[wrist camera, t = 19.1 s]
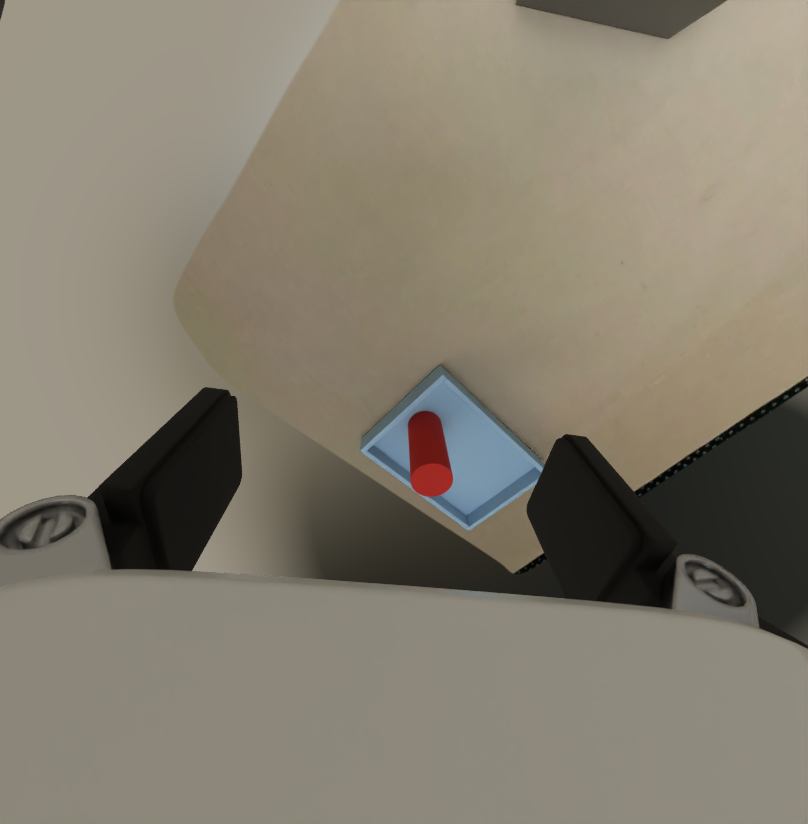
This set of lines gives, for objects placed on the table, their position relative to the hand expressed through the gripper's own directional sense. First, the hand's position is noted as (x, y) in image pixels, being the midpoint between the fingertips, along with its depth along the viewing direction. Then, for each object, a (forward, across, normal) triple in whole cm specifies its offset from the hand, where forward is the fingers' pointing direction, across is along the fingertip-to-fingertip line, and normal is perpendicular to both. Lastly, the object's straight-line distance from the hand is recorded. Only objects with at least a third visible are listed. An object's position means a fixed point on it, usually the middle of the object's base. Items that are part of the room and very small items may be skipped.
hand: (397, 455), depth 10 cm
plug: (+27, -6, +15) cm, 32 cm away
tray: (+28, -10, +18) cm, 35 cm away
